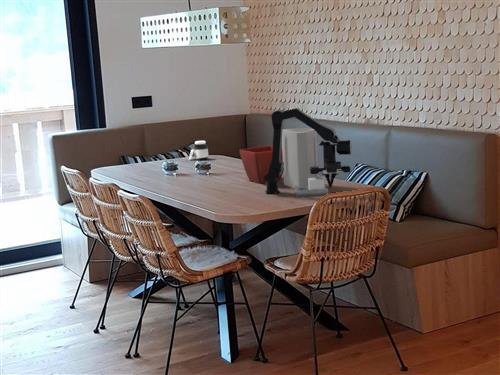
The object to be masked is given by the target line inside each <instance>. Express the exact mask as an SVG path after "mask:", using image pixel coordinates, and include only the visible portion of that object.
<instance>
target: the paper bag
mask: <svg viewBox="0 0 500 375" xmlns="http://www.w3.org/2000/svg"><path fill="white" fill-rule="evenodd" d="M318 146H319V145H318V133H317V132H316V131H315V130H314V129H312V128H311V127H309V128H285V129H284V128H283V129H282V144H281V148H282V154H283V162H284V170H283V174H282V177H283V185H284V186H285V187H289V188H293V189H294V188H295V185H298V187H308V178H315V177H320V176H319V173H320V172H319V173H318V174H311V173H310V167H314V166H318V167H319V151H318V149H319V148H318Z"/></svg>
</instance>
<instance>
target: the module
mask: <svg viewBox="0 0 500 375" xmlns="http://www.w3.org/2000/svg"><path fill="white" fill-rule="evenodd" d="M324 186H325V178H324V177H322V176H319V177H315V178H308V187H309V190H313V189H325V187H324Z"/></svg>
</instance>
